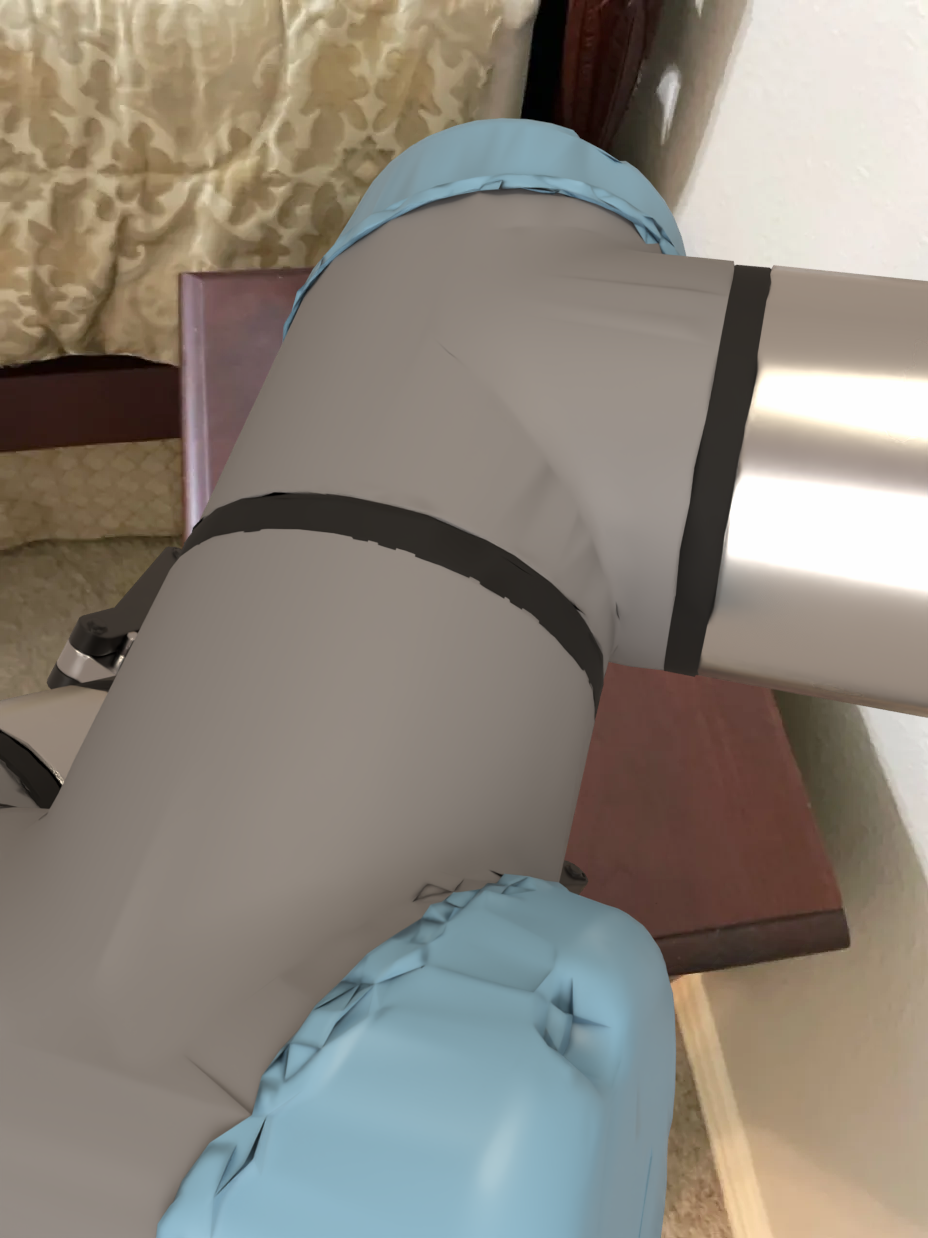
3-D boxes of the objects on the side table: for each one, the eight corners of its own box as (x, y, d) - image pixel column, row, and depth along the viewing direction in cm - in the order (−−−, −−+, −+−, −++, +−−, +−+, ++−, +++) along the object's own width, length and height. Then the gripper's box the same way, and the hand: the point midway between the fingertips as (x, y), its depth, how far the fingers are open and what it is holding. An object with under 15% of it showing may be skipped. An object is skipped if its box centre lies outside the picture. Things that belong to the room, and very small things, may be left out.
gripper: (-251, 654, 31) (190, 598, 51) (401, 1293, 25) (614, 946, 44) (-160, 433, 29) (264, 464, 48) (579, 1073, 23) (720, 811, 42)
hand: (432, 695), depth 46 cm, fingers open, 13 cm apart
